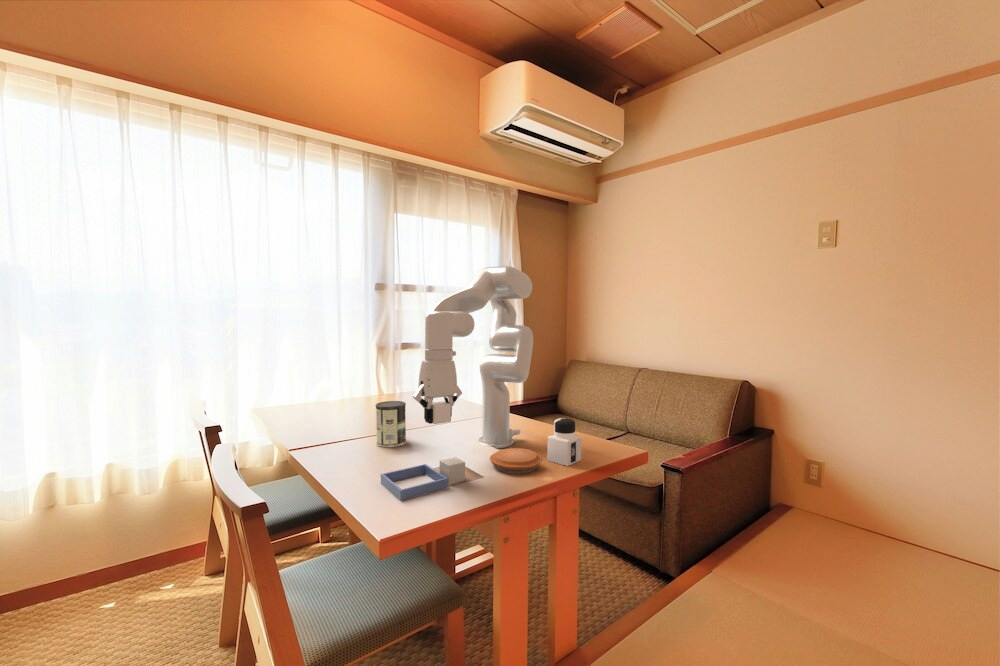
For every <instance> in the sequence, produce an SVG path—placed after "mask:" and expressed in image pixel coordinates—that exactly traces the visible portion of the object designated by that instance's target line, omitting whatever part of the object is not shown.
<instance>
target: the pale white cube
mask: <svg viewBox="0 0 1000 666" xmlns="http://www.w3.org/2000/svg"><path fill="white" fill-rule="evenodd" d="M465 466H466V462H465V461H464V460H462V459H461V458H458V457H456V456H454V457H449V458H445V459H441V460H439V467H440V473H441V474H442V475H444V476H445V477H447V478H448V485H450V484H453V483H457V482H461V481H465Z"/></svg>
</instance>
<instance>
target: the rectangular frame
mask: <svg viewBox="0 0 1000 666" xmlns="http://www.w3.org/2000/svg"><path fill="white" fill-rule="evenodd" d="M433 468H434V467H431V466H430V465H428V464H426V463H423V464H419V465H416V466H415V465H414V466H411V467H406V468H402V469H397V470H392V471H388V472H384V473H381V474H380V484H381V485H382V486H383V487H384V488H386V489H387V490H388V492H390V493H391V494H392V495H393V496H394V497H396V498H397V499H398V500H399V501H405V500H408V499H411V498H416V497H419V496H422V495H427V494H430V493H435V492H437V491H442V490H445V489H448V488H449V486H448V478H447V477H445V476H444V475H442V474H441V473H439V472H437V471H436V470H434V469H433ZM419 475H420V476H421V475H426V476H428V477H429V478H430V479H432V481H430V482H424V483H421V484H417V485H413V486H409V487H405V488H401V487H400V486H399V485H397V484H396V483H395V481H400V480H404V479H408V478H411V477H416V476H419Z"/></svg>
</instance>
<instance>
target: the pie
mask: <svg viewBox="0 0 1000 666" xmlns="http://www.w3.org/2000/svg"><path fill="white" fill-rule="evenodd" d="M489 461H490V463H491V464H492V465H493V466H494V468H495V469H496V470H498V471H500V472H503V473H506V474H507V473H509V474H526V473H530V472H533V471H534V470H537V468H538V466H539V465H540V464H541V463H542V462H543V457H542V456H541V455H540V454H539V453H537V452H535V451H533V450H531V449H527V448H521V447H512V448H509V447H508V448H502V449H499V450H497V451H496V452H494V453H492V454H491V455H490V456H489Z"/></svg>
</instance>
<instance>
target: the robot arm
mask: <svg viewBox="0 0 1000 666" xmlns="http://www.w3.org/2000/svg"><path fill="white" fill-rule="evenodd" d="M532 291H533V282H532V280H531V278H530V276H529V275H527V274H526V273H525V272H523V271H521V270H520V269H518V268H516V267H513V266H508V265H503V266H501V265H500V266H487V267H483V268H481V269H480V270H479V271H478V272H477V273H476V274H475V275H474V277H473V278H472V279H471V280H470V281H469V283H468V284H466V287H464V288H462V289H461V290H458V291H457V292H455V293H452V294H451V295H449V296H447V297H445V298H443V299H442V300H440V301H439V302H438V303H437V304H436V305H435V306H434V307H433V309H431V310H430V311H428V312H427V313H426V314H425V317H424V318H425V319H424V320H425V324H424V325H425V326H424V331H425V333H424V334H425V335H424V360H422V361H421V364H420V369H419V373H418V374H419V375H418V376H419V377H418V385H417V386H418V388H417V390H416V391H415V392H414V394H413V396H412V398H413V399H414V400H415V401H417V402H418V404H420V405H421V406H422V408H423V409H424V411H423V413H424V415H423V418H424V421H425V423H427V424H429V425H430V424H431V425H433V409H431V405H432V402H434V399H436V398H437V399H438V398H443V402H446V403H450V404H451V417H452V415H453V414H452V413H453V407H454V405H455V402H456V401H457V400H458V398H459V397H460V396H461V395H462V394H463V391H462V390H461V389H460V387H459V386H458V380H457V378H458V377H457V368H456V363H455V360H453V358H454V357H456V356H457V352H456V351H454V349H453V338H466V337H468V336H470V335H471V334H472V333H473V331H474V330H475V320H474V318H473V316H472V315H471V313H475V312H476V311H479V310H481V309H483V308H484V307H486V306H487V304H488V303H489V301H490V303H491V306H492V313H493V314H492V319H491V326H490V331H489V338H488V345H489V347H490V349H491V350H492V351H496V352H506V353H515V354H503V353H502V354H501V353H490V354H486V355H484V356H483V357H482V358H481V360H480V362H479V374H480V377H481V387H482V436H481V437H479V438H478V440H477V442H479V443H480V444H482V445H486V446H489V447H491V448H494V449H506V448H509V447H511V446H513V445H514V442H515V439H514V438H513V437H515V436H517V435H518V436H519V435H520V434H521V430H520V429H519V428H516V429H513V428H510V412H511V411H510V407H511V405H510V403H511V402H510V401H511V399H510V391H509V388H508V387H507V385H506V383H510V384H511V383H512V384H522V383H524V382H526V381H527V380H528V377H529V374H530V368H531V361H532V355H533V347H534V334H533V330H532V329H531V328H530V327H529V326H527V325H518V324H517V325H516V322H517V312H516V309H515V307H514V305H512V303H511V301H510V300H514V299H515V300H516V299H517V300H521V299H522V300H524V299H527V298H529V297H530V295H531V294H532ZM422 397H424V398H422Z"/></svg>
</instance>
